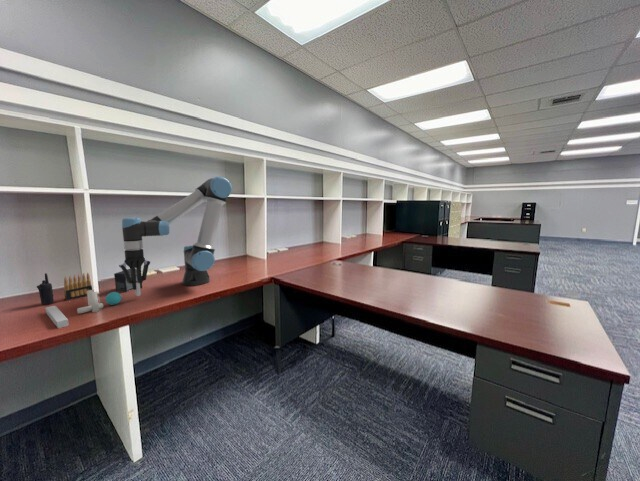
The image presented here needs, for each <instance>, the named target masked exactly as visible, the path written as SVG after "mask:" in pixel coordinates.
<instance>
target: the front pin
mask: <svg viewBox="0 0 640 481" xmlns="http://www.w3.org/2000/svg"><path fill="white" fill-rule="evenodd" d="M98 304H99V310H101V309H103V308H104V303H103V302H100V303H99V302H98ZM76 312H77V314H78V315H80V314H83V313H87V312H92V307H91V305H90V306H88V305H87V306H86V305H85V306H82V307H77V309H76Z"/></svg>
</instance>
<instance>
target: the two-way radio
mask: <svg viewBox="0 0 640 481" xmlns="http://www.w3.org/2000/svg"><path fill="white" fill-rule="evenodd" d="M49 282H50V281H49V277H48V273H47V272H45V273H44V279H43V280H42V281H41V283H40V284H38V285H36V288H37V290H38V292H39V293H38V294H39V298H40V303H41V305H51V304H54V303H55V300H54V291H53V290H54V289H53V285H52V283H49Z"/></svg>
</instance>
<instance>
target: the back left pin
mask: <svg viewBox="0 0 640 481" xmlns="http://www.w3.org/2000/svg"><path fill="white" fill-rule="evenodd" d="M90 298H91V307H92V311H91V312H92V313H98V312H99V311H100V309H99V298H98V292H97V291H94V292H92V293H90Z"/></svg>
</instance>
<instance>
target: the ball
mask: <svg viewBox="0 0 640 481" xmlns="http://www.w3.org/2000/svg"><path fill="white" fill-rule="evenodd" d="M121 301H122V295H121V294H120V292H116V291H111V292H110V293H108V294H106V296H105V302H106V303H107V304H108V305H109V306H115V305H118V304H119V303H120V302H121Z"/></svg>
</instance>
